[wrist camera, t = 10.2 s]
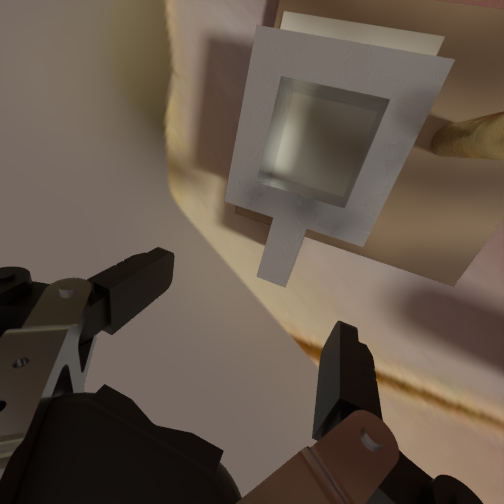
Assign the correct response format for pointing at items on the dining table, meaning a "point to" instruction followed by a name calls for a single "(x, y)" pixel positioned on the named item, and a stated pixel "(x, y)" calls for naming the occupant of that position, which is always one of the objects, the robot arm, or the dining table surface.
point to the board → (421, 155)
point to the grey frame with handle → (337, 90)
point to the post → (472, 138)
